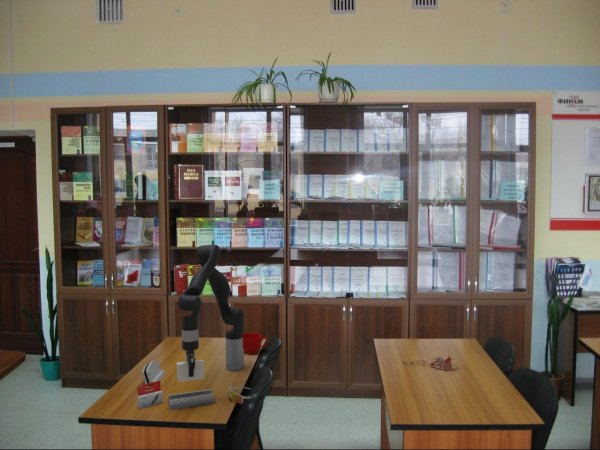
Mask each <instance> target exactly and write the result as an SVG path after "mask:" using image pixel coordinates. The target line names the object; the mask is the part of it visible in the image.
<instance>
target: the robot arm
mask: <svg viewBox="0 0 600 450" xmlns="http://www.w3.org/2000/svg"><path fill="white" fill-rule="evenodd" d="M221 256H222V249H221V247H220V246H219V245H218V244H205V245H204V244H203V245H200V246H198V247H197V248H196V257H197V260H198V262H199V264H200V267H201V268H200V269H198V270H197V271H196V272H194V273H195V274H193V276H192V278H191V279H190V282H189V284H188V286H187V288H186V289H185V290H184V291H183V292H182V293H181V294H180V296H179V297H178V300H177V308H178V309H179V310H180V311H185V312H191V314H188V315H184V316H183V317H182V319H181V349H182V351H185V360H186V361H185V362H187V364H188V369H189V377H193V376H194V369H195V360H196V352H195V351H196V350H198V349H199V343H200V341H199V340H200V339H199V338H200V337H199V334H200V333H199V322H198V321H199V315H200V311H201V308H202V299H201V297H200V296H201V295H202V294H203V291H204V288H205V286H206V284H207V281H208V282H209V286H210V289H211V291H212V293H213V295H214V299H215V301H216V303H217V305H218V308H219V313H220V315H221V319H222V322H223V323H224V324H225V325H228V326H232V329H230V330H228V331H226V332H225V369H226V370H227V371H230V372H234V371H235V372H236V371H240V370H243V369H245V367H244V366H245V351H244V350H243V334H244V330H245V313H244V311H243V309H241V308H238V307H236V308H235V307H231V305H230V303H229V298H230V295H231V291H232V290H231V286H230V283H229V280H228V279H227V277H226V276H225V275H224V274H223V273H222V272H221V271H220V270H218V269H217V268H216V267H217V265H218V264H219V262H220V260H221ZM191 365H193V366H191Z"/></svg>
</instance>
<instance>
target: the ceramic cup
mask: <svg viewBox="0 0 600 450" xmlns="http://www.w3.org/2000/svg"><path fill="white" fill-rule="evenodd" d="M264 340H266V343H265V344H263V345H262V342H263V341H264ZM268 344H269V338H267V337H263V335H262V334H260V333H258V332H247V333H243V351H244V353H246V354H248V355H254V354H256V353H258V352H259V350H260V348H262V347H266V346H267V345H268Z"/></svg>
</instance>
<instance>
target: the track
mask: <svg viewBox="0 0 600 450" xmlns="http://www.w3.org/2000/svg"><path fill="white" fill-rule="evenodd" d="M167 397H168V398H167V402H168V406H169V410H170V411H173V410H180V409H185V408H192V407H199V406H200V407H201V406H205V405H212V404H216V401H215V393H213V389H212V388H209V389H203V390H195V391H194V390H193V391H188V392H187V391H186V392H182V393H179V392H178V393H175V394H174V393H172V394H168V395H167Z"/></svg>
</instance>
